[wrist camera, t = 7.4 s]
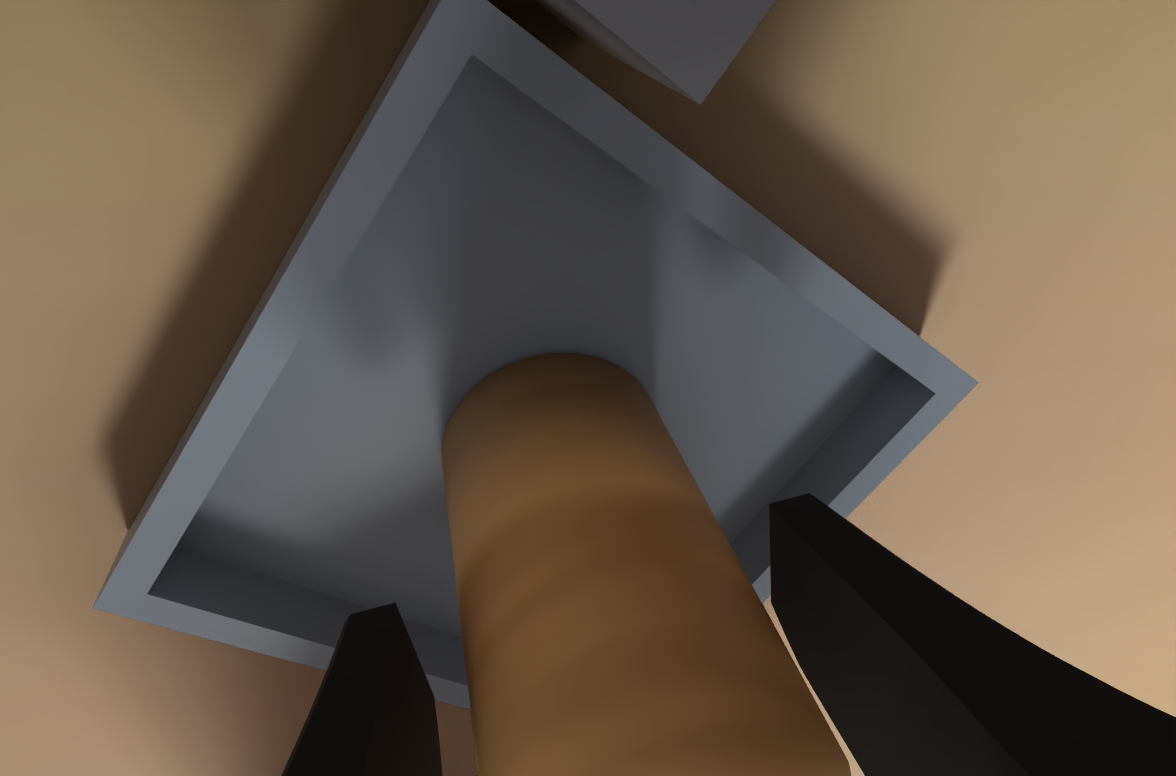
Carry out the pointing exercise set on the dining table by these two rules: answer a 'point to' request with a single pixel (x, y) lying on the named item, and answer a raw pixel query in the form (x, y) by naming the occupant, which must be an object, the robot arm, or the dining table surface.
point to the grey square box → (666, 35)
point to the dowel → (608, 593)
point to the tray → (503, 353)
